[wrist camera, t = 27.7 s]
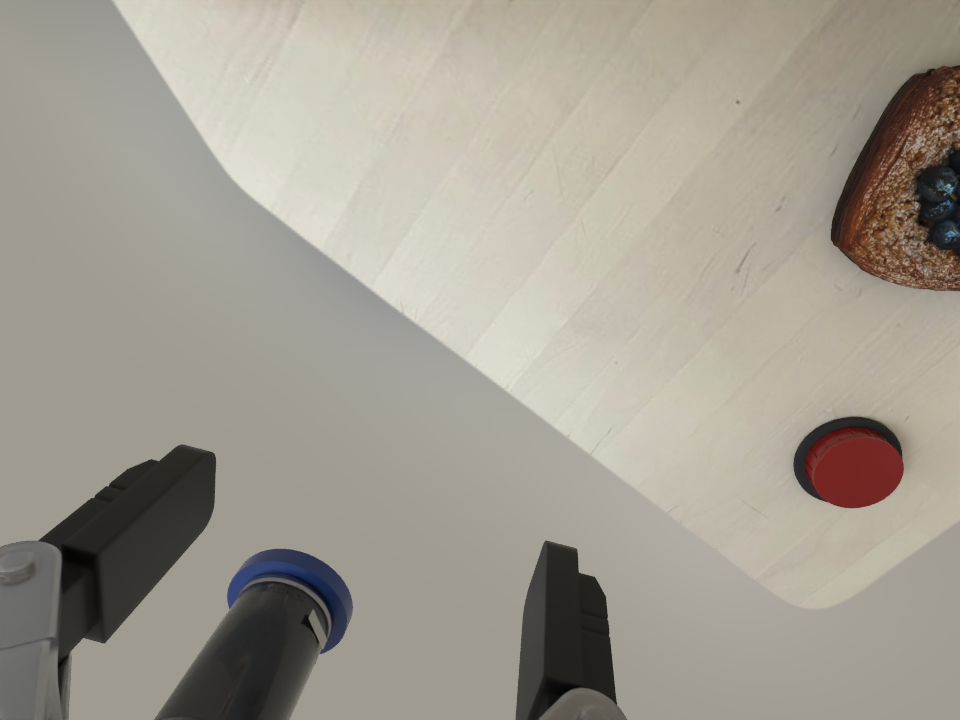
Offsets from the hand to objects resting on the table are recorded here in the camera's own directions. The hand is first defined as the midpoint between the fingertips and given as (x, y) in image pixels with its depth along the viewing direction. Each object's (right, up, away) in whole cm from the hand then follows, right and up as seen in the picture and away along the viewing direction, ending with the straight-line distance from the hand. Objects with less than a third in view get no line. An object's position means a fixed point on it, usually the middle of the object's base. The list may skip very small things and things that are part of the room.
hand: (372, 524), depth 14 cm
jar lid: (+29, -4, +26) cm, 39 cm away
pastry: (+30, +14, +21) cm, 39 cm away
